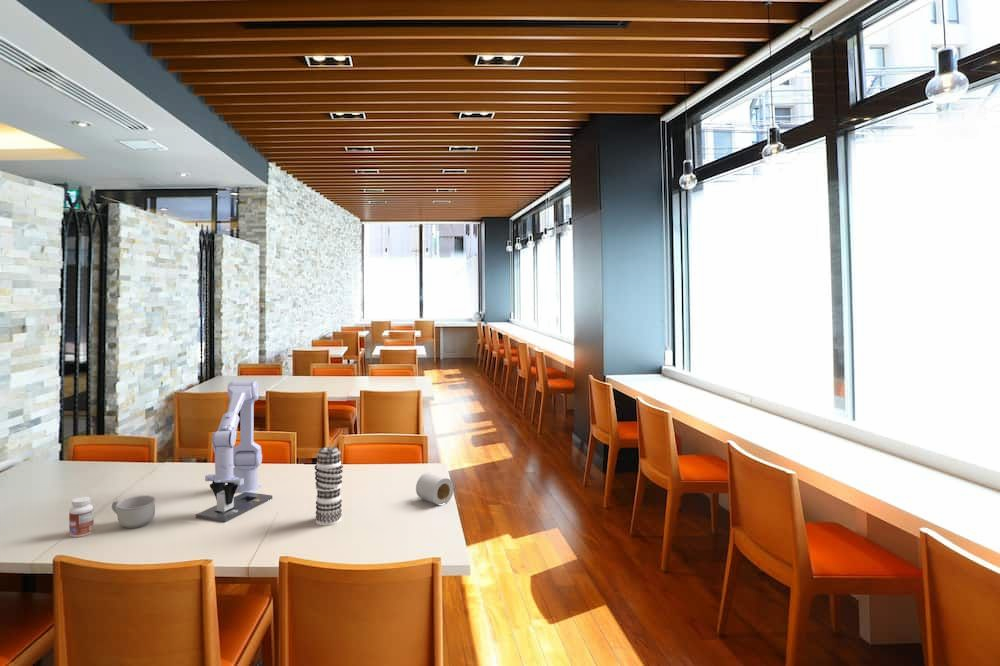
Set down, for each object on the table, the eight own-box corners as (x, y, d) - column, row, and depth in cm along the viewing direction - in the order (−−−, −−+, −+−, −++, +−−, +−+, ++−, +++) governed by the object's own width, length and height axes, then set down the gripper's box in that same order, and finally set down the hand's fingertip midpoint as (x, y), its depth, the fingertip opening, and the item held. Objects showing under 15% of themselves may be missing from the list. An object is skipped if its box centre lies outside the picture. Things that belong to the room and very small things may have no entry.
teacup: (163, 521, 191) (162, 497, 191) (132, 533, 181) (132, 508, 181) (132, 515, 196) (132, 492, 195) (101, 526, 186) (101, 502, 185)
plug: (216, 510, 197) (216, 490, 197) (226, 506, 201) (225, 486, 201) (224, 511, 196) (224, 491, 196) (233, 507, 200) (233, 487, 200)
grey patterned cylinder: (327, 528, 188) (327, 453, 187) (308, 521, 193) (308, 449, 192) (348, 519, 196) (348, 447, 195) (329, 513, 201) (330, 443, 200)
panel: (196, 518, 194) (195, 513, 194) (245, 495, 217) (245, 491, 217) (225, 523, 191) (225, 518, 191) (272, 499, 214) (272, 494, 214)
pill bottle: (67, 533, 180) (66, 499, 179) (90, 528, 185) (89, 494, 184) (72, 539, 176) (71, 504, 175) (96, 533, 181) (95, 499, 180)
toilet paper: (453, 501, 216) (453, 475, 215) (433, 508, 208) (433, 481, 208) (436, 495, 222) (436, 469, 222) (415, 501, 215) (416, 475, 215)
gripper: (198, 465, 196) (198, 504, 196) (233, 470, 192) (233, 509, 192) (213, 460, 202) (214, 497, 203) (248, 464, 198) (248, 502, 199)
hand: (224, 503), depth 198 cm, fingers closed on plug, 3 cm apart
